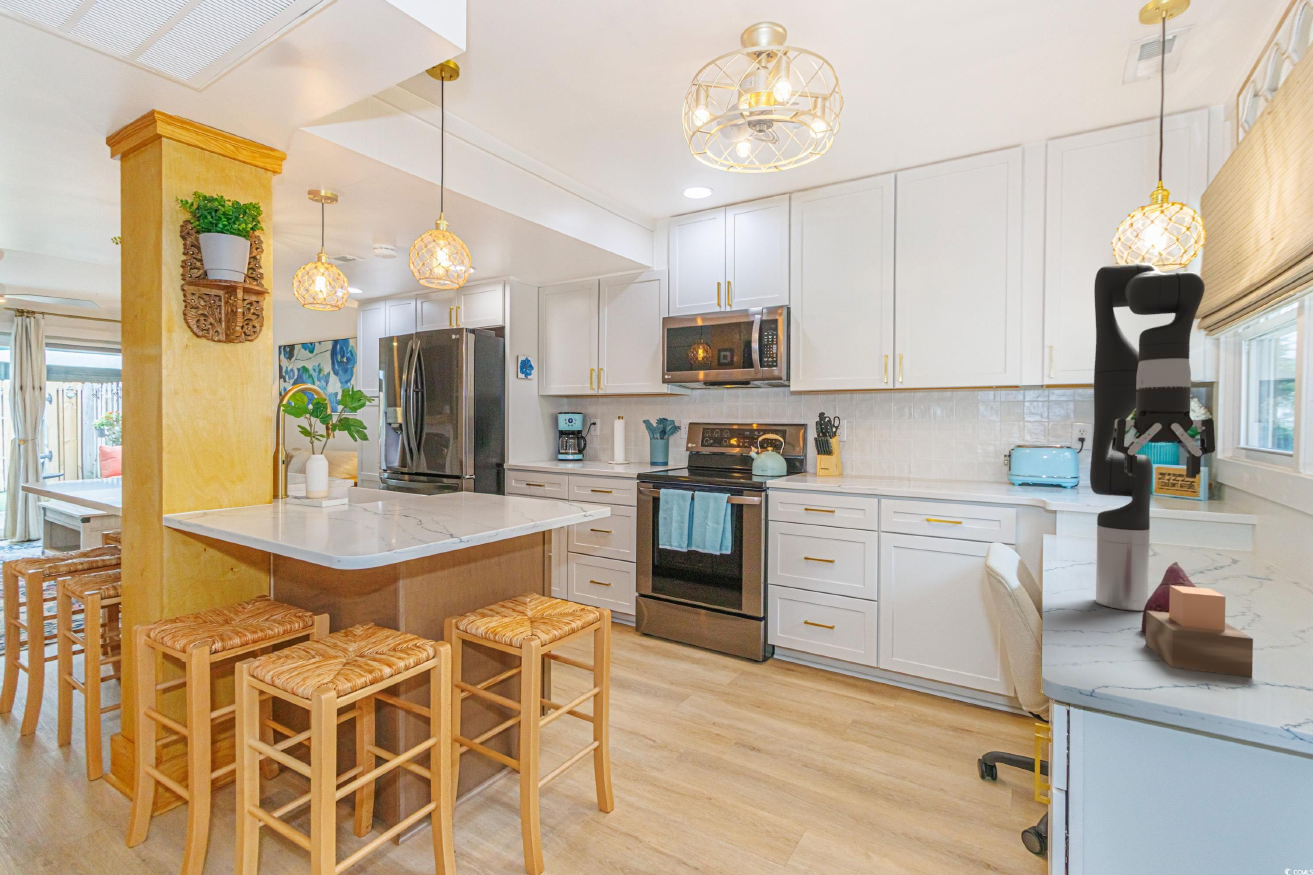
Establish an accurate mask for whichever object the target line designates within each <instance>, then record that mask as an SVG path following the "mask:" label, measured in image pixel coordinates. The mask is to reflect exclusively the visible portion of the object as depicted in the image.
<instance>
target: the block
mask: <svg viewBox="0 0 1313 875" xmlns="http://www.w3.org/2000/svg"><path fill="white" fill-rule="evenodd" d="M1169 617H1170V618H1171V619H1173V620H1174V621H1176V622H1177V623H1178V624H1180V625H1181V626H1185V627H1195V628H1204V629H1214V630H1223V631H1225V622H1226V596H1225V595H1223V594H1221V593H1219V592H1217V591H1216V590H1214V589H1212V588H1206V587H1197V588H1195V587H1184V586H1172V585H1170V601H1169Z"/></svg>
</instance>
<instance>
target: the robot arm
mask: <svg viewBox="0 0 1313 875" xmlns="http://www.w3.org/2000/svg"><path fill="white" fill-rule="evenodd" d="M1205 286H1206V285H1205V282H1204V279H1203V278H1202V276H1200V274H1198V273H1196V272H1194V271H1183V272H1182V271H1181V272H1171V273H1170V272H1169V273H1164V272H1161V271H1160V270H1159V269H1158V267H1157V266H1155V265H1154V264H1150V263H1145V262H1144V263H1143V262H1142V263H1140V262H1139V263H1137V262H1136V263H1127V264H1117V265H1114V264H1113V265H1107V266H1106V265H1105V266H1102V267H1100V268H1099V269H1098V271H1097V272H1096V275H1095V278H1094V290H1093V291H1094V292H1093V294H1094V313H1095V316H1094V317H1095V356H1094V370H1093V371H1094V372H1093V409H1094V410H1093V413H1094V415H1093V416H1094V417H1093V418H1094V419H1093V421H1094V422H1093V435H1092V445H1091V456H1090V457H1091V458H1090V471H1089V481H1090V488H1091V490H1092V492H1093V493H1094V494H1096V495H1100V496H1117V497H1130V498H1131V501H1130V502H1129V503H1127V504H1125V505H1124V506H1121V507H1117V508H1114V509H1109V510H1108V509H1107V510H1104V511H1101V512H1099V513H1098V514H1097V517H1096V522H1097V523H1096V568H1095V569H1096V576H1095V577H1096V579H1095V602H1096V603H1097V604H1098V605H1099V604H1100V605H1102V606H1105V607H1108V608H1112V609H1113V608H1114V609H1118V610H1123V611H1124V610H1126V611H1144V607H1145V605H1146V603H1147V601H1148V599H1149V592H1150V591H1149V587H1150V586H1149V584H1150V581H1149V578H1150V527H1151V526H1150V525H1151V524H1150V523H1151V522H1150V520H1151V519H1150V518H1151V517H1150V512H1151V511H1150V510H1151V509H1150V506H1151V505H1150V504H1151V492H1152V483H1153V481H1152V480H1153V463H1152V460H1151V458H1150V457H1149V456H1147V455H1145V454H1136V453H1137V452H1138V451H1139V450H1140V449H1141V448H1142V447H1143V446H1145V445H1146V444H1147V443H1150V444H1151V443H1153V444H1154V443H1157V444H1158V443H1165V444H1175V443H1177V445H1178V446H1179V447H1180V448H1182V449H1183V450H1184V452H1186V454H1188V456H1186V460H1185V461H1186V463H1185V464H1186V465H1185V466H1186V470H1185V471H1186V473H1185V475H1186V478H1190V479H1196V478H1197V476H1198V475H1200V474H1201V468H1202V467H1201V466H1202V464H1201V463H1202V462H1201V461H1202V457H1203V456H1204V455H1207V454H1212V453H1215V451H1216V441H1215V440H1216V438H1215V424H1214V419H1212V418H1201V419H1192V418H1191V394H1192V393H1191V390H1192V389H1191V388H1192V387H1191V386H1192V372H1191V366H1190V365H1191V364H1190V348H1191V347H1190V346H1191V345H1190V342H1191V341H1190V339H1191V333H1192V328H1193V325H1194V322H1195V318H1196V315H1197V313H1198V309H1199V307H1200V305H1201V302H1202V299H1203V298H1204V297H1203V296H1204V294H1205V288H1206V287H1205ZM1124 307H1125V308H1129V309H1130V311H1131V312H1132V313H1133V314H1134V315H1140V316H1151V315H1152V316H1153V315H1162V314H1163V315H1164V314H1165V315H1166V314H1168V315H1169V314H1174V318H1173V320H1172V321H1171V322H1169V323H1167V324H1163V325H1159V326H1154V327H1149V328H1147V329H1145V330H1143V331H1141V333H1140V334H1139V339H1138V350H1137V349H1136V348H1135V346H1134V344H1132V343H1131V341H1130V340H1129V338H1127V337H1126V335H1125V334H1124V332H1123V330H1122V329H1121V327H1120V325H1119V323H1118V321H1117V317H1116V315H1115V311H1114V308H1124ZM1134 411H1135V416H1134V419H1128V418H1129V417H1131V416H1130V415H1131V414H1132V413H1133V412H1134ZM1131 427H1133V429H1135V430H1136V432H1138V433H1137V434H1136V435H1135V436H1134V437H1133V439H1132V440H1131V442H1130V443H1129V444H1127V446H1125V439H1126V438H1125V436H1126V432H1127V431H1130V428H1131ZM1192 427H1194V428H1195V431H1197V432H1199V444H1200V446H1199V447H1198V446H1197V444H1196V443H1195V441H1194V440H1193V439H1192V438H1191V437H1190V436H1189V435H1188V434H1187V433H1188V432H1189V431H1190V430H1191V428H1192ZM1110 447H1111V450H1112V451H1114V452H1117V453H1110Z"/></svg>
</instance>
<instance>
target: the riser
mask: <svg viewBox="0 0 1313 875" xmlns="http://www.w3.org/2000/svg"><path fill="white" fill-rule="evenodd" d="M1145 645H1146V646H1147V647H1148V648H1150V649H1151V650H1152V651H1153V652H1154V653H1155V654H1156V655H1158V657H1160V658H1161V659H1162V660H1163V661H1164V662H1166V663H1167V664H1168V665H1169V666H1170V667H1171V668H1175V669H1176V668H1177V669H1182V668H1184V670H1190V669H1192V671H1193V670H1194V671H1198V670H1199V671H1200V672H1206V671H1210V672H1209V673H1214V672H1216V674H1217V673H1218V674H1223V675H1231V676H1240V677H1246V678H1247V677H1248V678H1253V658H1254V657H1253V656H1254V655H1253V654H1254V653H1253V651H1254V648H1253V647H1254V646H1253V645H1254V639H1253V637H1251V636H1249V635H1248V634H1246V633H1244V632H1242V631H1240V630H1239V629H1238V628H1236V627H1234V626H1232V625H1230V624H1229V623H1227V622H1226V621H1225V631H1223V630H1214V629H1204V628H1195V627H1185V626H1181V625H1180V624H1178V623H1177V622H1176V621H1174V620H1173V619H1171V618H1170V617H1169V613H1166V612H1156V611H1146V633H1145ZM1199 671H1198V672H1199Z"/></svg>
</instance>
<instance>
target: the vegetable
mask: <svg viewBox="0 0 1313 875" xmlns="http://www.w3.org/2000/svg"><path fill="white" fill-rule="evenodd" d="M1170 585H1172V586H1184V587H1195V588H1198V587H1197V586H1196V585H1195V583H1194V582H1193V581H1192V580H1191V579H1190V578H1189V576H1188V575H1187V574H1186V572H1185V571H1184V568H1182V567H1181V566H1180V565H1179V564H1178V561H1174V562H1173V563H1171V564H1170V565H1169V566H1168V567H1167V568H1166V571H1165V573H1164V575H1163V577H1162V580H1161V582H1160V583H1159V585H1158V586H1156V589H1155V590H1153V593H1152V594H1151V595H1150V596H1149V597H1148V601H1147V603H1146V605H1145V607H1144V610H1142V616H1141V618H1142V619H1141V632H1142V633H1144V634H1146V611H1156V612H1166V613H1169V601H1170Z"/></svg>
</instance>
